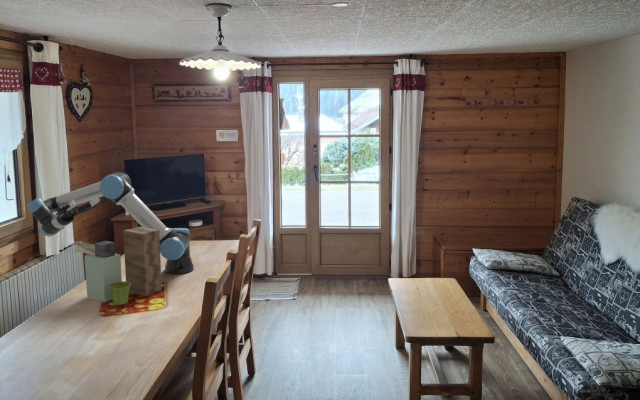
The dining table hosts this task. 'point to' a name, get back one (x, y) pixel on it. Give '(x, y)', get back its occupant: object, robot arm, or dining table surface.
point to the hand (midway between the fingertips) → (86, 200)
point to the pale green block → (101, 276)
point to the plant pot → (120, 292)
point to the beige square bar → (97, 248)
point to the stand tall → (142, 260)
